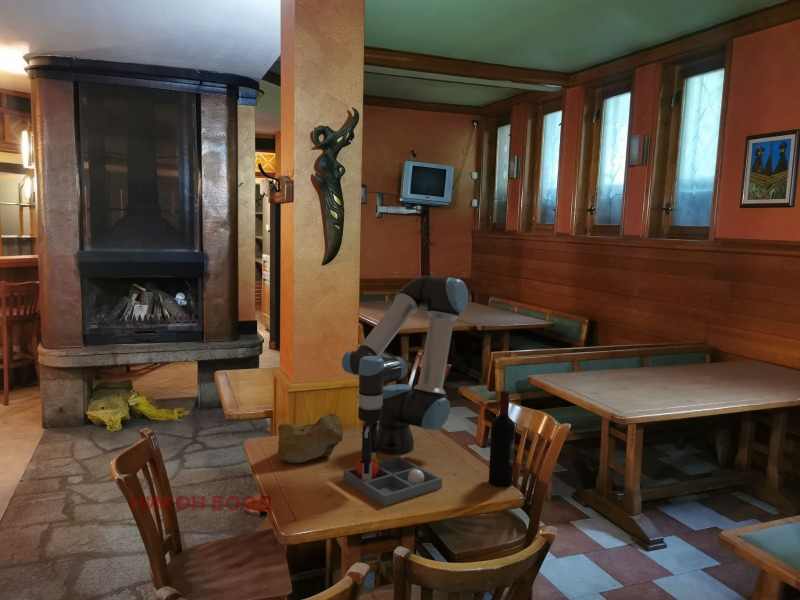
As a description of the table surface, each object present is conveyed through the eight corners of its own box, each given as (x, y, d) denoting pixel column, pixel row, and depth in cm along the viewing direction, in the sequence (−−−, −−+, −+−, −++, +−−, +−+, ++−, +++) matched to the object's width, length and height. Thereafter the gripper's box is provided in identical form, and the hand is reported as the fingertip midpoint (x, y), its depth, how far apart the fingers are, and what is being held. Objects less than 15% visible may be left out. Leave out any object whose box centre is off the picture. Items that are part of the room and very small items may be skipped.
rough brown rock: (331, 445, 224) (329, 405, 223) (347, 457, 209) (345, 414, 208) (269, 455, 213) (267, 414, 213) (281, 469, 199) (279, 424, 198)
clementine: (382, 474, 191) (383, 453, 190) (380, 483, 184) (381, 461, 183) (357, 473, 191) (358, 451, 190) (354, 482, 184) (355, 460, 184)
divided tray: (398, 467, 202) (398, 456, 202) (441, 490, 185) (442, 478, 185) (343, 482, 189) (343, 470, 188) (384, 509, 172) (384, 496, 171)
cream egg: (416, 480, 190) (417, 465, 189) (427, 486, 185) (428, 470, 185) (403, 484, 186) (404, 468, 186) (414, 490, 182) (414, 474, 182)
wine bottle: (487, 477, 196) (491, 388, 193) (510, 478, 196) (515, 389, 193) (490, 487, 189) (494, 394, 185) (514, 487, 189) (519, 395, 185)
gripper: (364, 396, 195) (363, 464, 198) (351, 415, 176) (350, 490, 178) (387, 398, 194) (385, 466, 197) (377, 417, 175) (375, 492, 177)
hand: (368, 477), depth 188 cm, fingers closed on clementine, 7 cm apart
